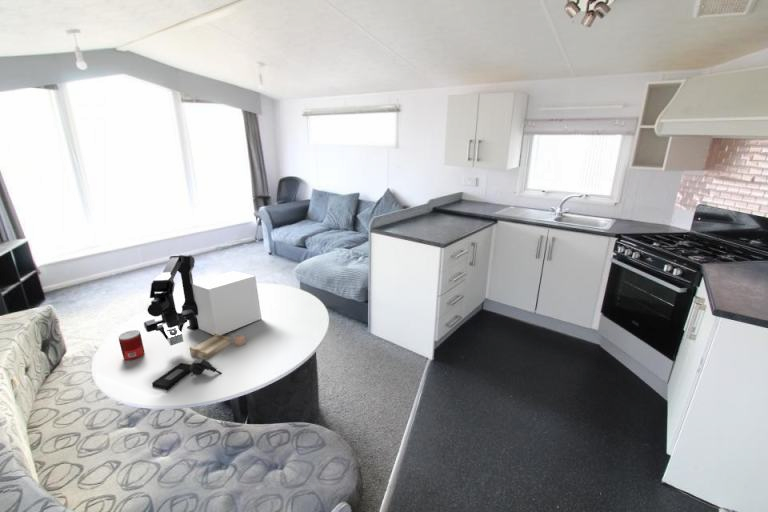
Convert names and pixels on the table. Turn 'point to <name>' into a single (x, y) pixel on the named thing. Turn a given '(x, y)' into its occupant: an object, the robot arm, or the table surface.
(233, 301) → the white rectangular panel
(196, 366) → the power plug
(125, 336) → the canned food
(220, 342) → the stand
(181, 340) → the housing
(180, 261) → the robot arm
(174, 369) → the vhs tape
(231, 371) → the table surface
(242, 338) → the peach cylinder
